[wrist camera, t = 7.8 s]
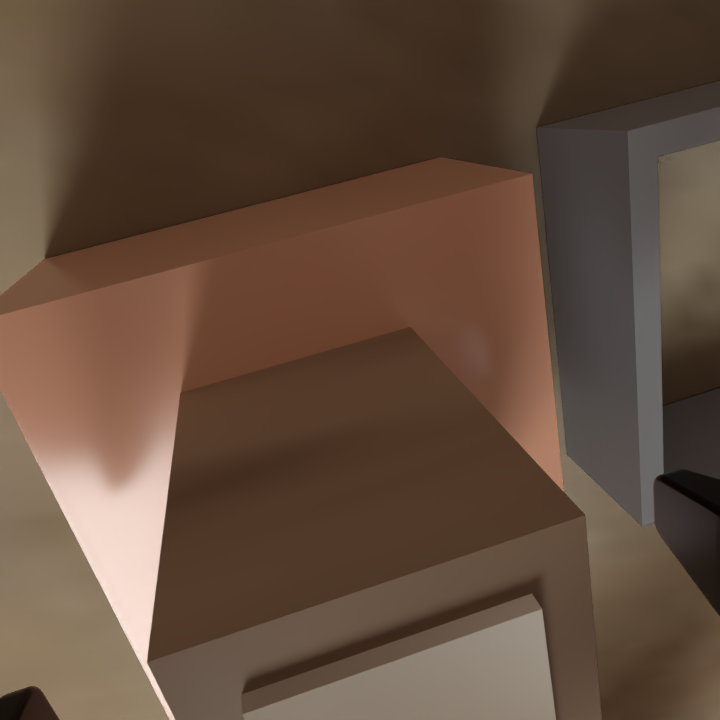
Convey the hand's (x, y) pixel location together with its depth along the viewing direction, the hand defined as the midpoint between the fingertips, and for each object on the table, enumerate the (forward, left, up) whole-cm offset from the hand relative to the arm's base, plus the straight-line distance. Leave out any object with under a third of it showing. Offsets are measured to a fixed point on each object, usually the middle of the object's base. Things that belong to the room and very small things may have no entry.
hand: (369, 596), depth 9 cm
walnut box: (0, 0, -3) cm, 3 cm away
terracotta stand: (0, 0, -8) cm, 8 cm away
